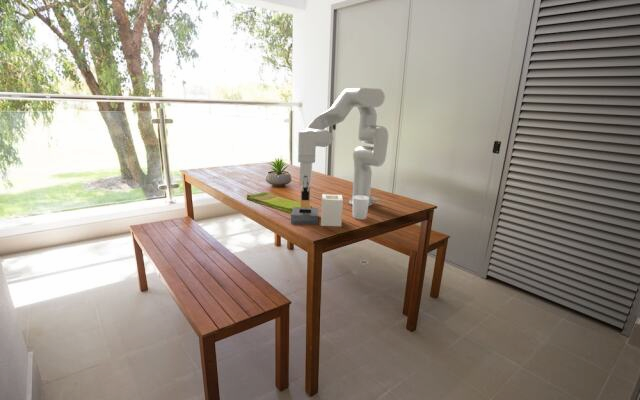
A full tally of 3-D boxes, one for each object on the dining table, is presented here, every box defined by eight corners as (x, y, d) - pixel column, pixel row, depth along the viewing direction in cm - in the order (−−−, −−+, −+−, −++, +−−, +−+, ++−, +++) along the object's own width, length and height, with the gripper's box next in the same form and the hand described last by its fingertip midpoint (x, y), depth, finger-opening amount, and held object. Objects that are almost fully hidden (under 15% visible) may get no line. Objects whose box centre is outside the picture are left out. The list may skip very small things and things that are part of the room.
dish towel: (266, 195, 192) (266, 189, 191) (313, 208, 170) (313, 202, 169) (245, 200, 180) (245, 194, 179) (292, 215, 159) (292, 209, 158)
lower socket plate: (318, 215, 158) (318, 207, 157) (317, 224, 146) (318, 215, 145) (293, 214, 158) (293, 206, 157) (290, 223, 146) (291, 214, 145)
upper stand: (340, 219, 154) (341, 195, 150) (341, 226, 145) (342, 200, 142) (321, 218, 154) (322, 194, 150) (321, 225, 145) (322, 199, 142)
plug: (309, 206, 152) (310, 187, 150) (309, 208, 148) (310, 189, 146) (301, 205, 152) (301, 186, 150) (300, 208, 148) (301, 189, 146)
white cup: (366, 214, 162) (367, 195, 159) (369, 220, 154) (370, 200, 151) (350, 214, 161) (351, 195, 159) (352, 219, 154) (353, 199, 151)
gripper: (299, 155, 152) (298, 193, 157) (296, 161, 136) (295, 203, 141) (315, 156, 152) (314, 194, 157) (314, 162, 136) (313, 204, 141)
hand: (305, 198), depth 149 cm, fingers closed on plug, 4 cm apart
